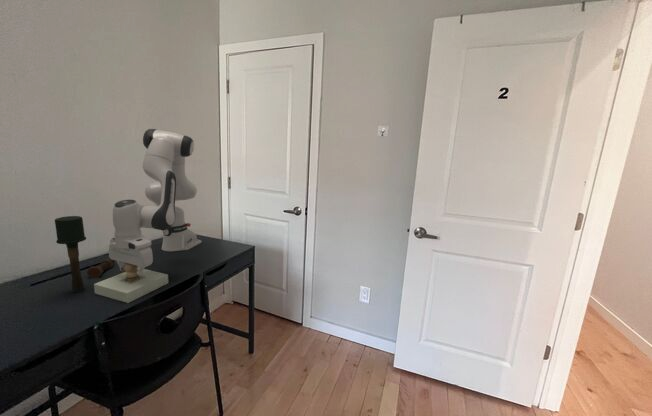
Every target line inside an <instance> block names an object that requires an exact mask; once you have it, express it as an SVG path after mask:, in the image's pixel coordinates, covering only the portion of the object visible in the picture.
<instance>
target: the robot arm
mask: <svg viewBox="0 0 652 416" xmlns="http://www.w3.org/2000/svg"><path fill="white" fill-rule="evenodd" d="M142 143H143V146H144V147H145V149H146V151H145V154H144V158H143V160H142V169H143V172H144V173H145V174H146V176H147V177H149V178H150V179H152V180H154V181H155V182H151V183H148V184H147V185H146V187H145V190H144V193H145V196H146V198H147V199H148V200H149V201H151V202H152V203H153V204H155V205H150V204H149V205H148V204H142V203H138V202H137V201H136V200H134V199H123V200H119V201H116V202H115V203H114V205H113V208H112V224H113V226H114V237H112V238H111V239H110V241H109V242H110V243H109V244H108V245H109V246H108V257H109V259H112V260H115V262H116V263H117V265H118V267H119V271H121V272H126V269H125V263H128V264H133V265H137V266H138V268H139V270H138V271H137V275H143V270H144V269H146V267H149V266H151V265H152V263H153V262H154V260H153V259H154V258H153V257H154V256H153V250H152V247H151V246H152V245H153V244H152V240H151V239H148V238H147V237H145V236H144V235H143V234H142V230H141V229H142V228H144V229H154V230H159V231H162V233H163V236H162V243H161V250H162V251H164V252H179V251H188V250H191V249H192V248H194V247H196V246H198V245H200V244H202V240H201V239H198V236H197V233H196V232H194V231H193V230H191V229H189V228H188V227H191V223H190V222H187V223H186V222H185V211H184V210H183V209H182V208H181V207H179V206H176V202H177V201H187V200H192V199H194V198H196V195H197V192H198V190H197V189H198V188H197V187H196V184H195V183H193V182H192V181H190V179H188V178H187V176H186V165H185V164H186V157H190V156H191V155H192V154H193V152H194V150H195V143H194V140H193V138H191V137H190V136H188V135H183V134H180V133H178V132H173V131H167V130H161V129H160V130H159V129H157V128H148V129H147V130H145V131H144V133H143V137H142Z"/></svg>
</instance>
